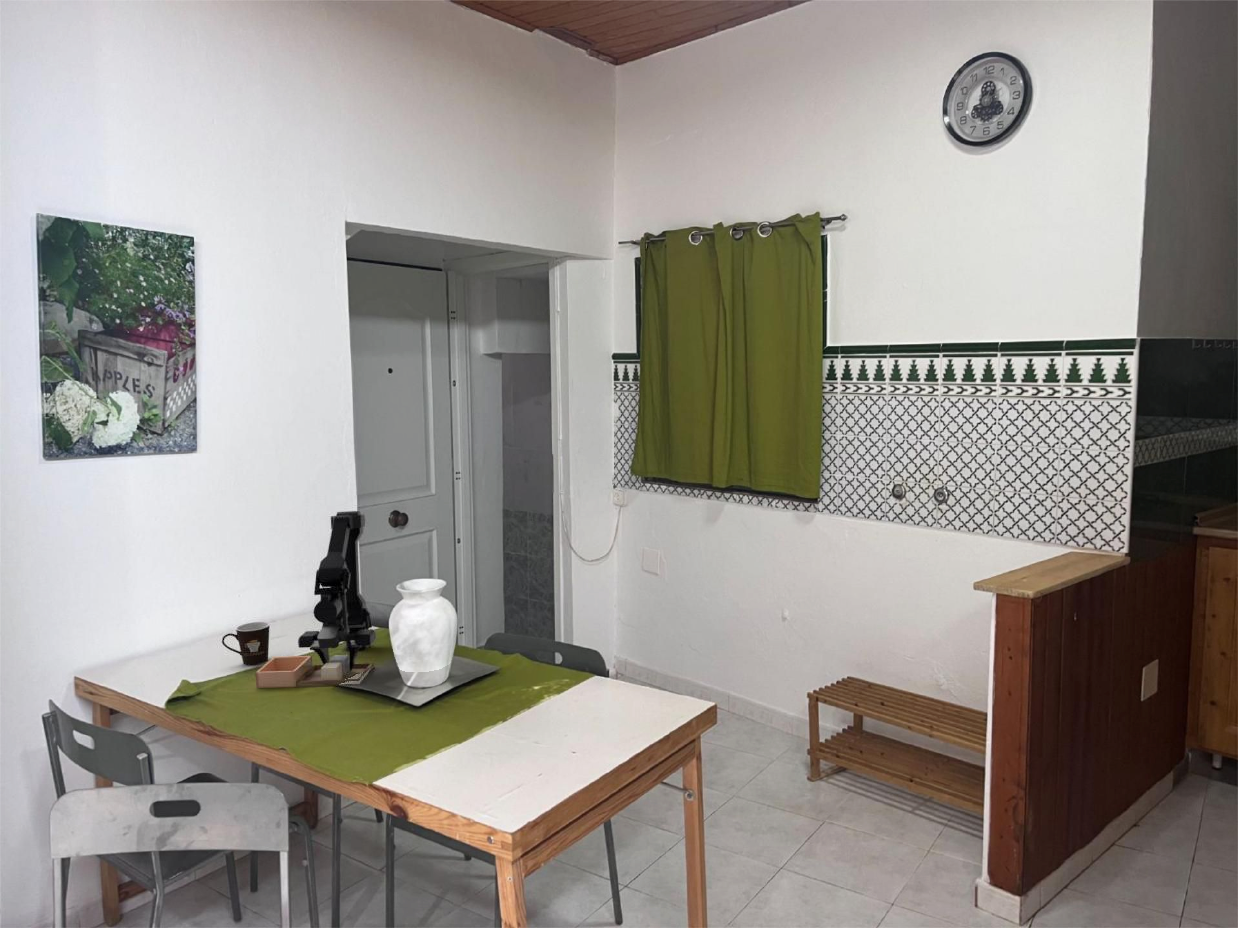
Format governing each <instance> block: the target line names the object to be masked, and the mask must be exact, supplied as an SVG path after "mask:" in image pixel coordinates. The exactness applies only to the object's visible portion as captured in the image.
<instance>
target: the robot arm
mask: <svg viewBox="0 0 1238 928" xmlns="http://www.w3.org/2000/svg"><path fill="white" fill-rule="evenodd" d="M365 526H366V518H365V514H361V511H360V510H348V511H337V512H336V514H335V515H330V529H331V533H330V537H329V543H328V549H327V554H326V556H325V557H323V558H322V560H320V563H319V566H318V569H317V570H316V571H315V572H316V573H315V580H314V581H315V582H314V583H315V584H314V592H313V593H314V596H319V595H320V600H319V601H318V602H317V603H316V604H315V606H314V608H313V617H314V618H315V619H316V620H317V621H318V622H320V623H321V624H322V627H321V629H320V630H311V631H309V630H307V631H304V633H302V634H301V635H299V637H298V641H297V643H298V644H297V645H298V648H299V649H300V648H301V649H302V648H304V649H305V648H307V649H308V648H309V650H310V651H314V652H315V653H317V655H318V657H319V658H320V660H321V662H322V663H321V664H323V665H325V664H326V663H329V659H330V656H329V649H336V648H338V647H339V646H340V644H341V643H342V642H343V643H345V647H344V648H343V649H342V650H341V652H349V653H348V655H349V666H350V670H352V669H353V666H354V663H356V660H357V656H358V652H364V651H366V649H368V648H369V647H370V646H371V645H372V644H373V643H374V642H375V640H376V639H377V637H376V635H377V634H376V633H377V632H376V631H375V630H374V628H373V620H372V617H371V616H372V615H371V613H370V611H369V609H368V607H367V604H366V603H367V602H366V600H365V599H364V597H363V596H362V594H361V590H360V569H359V566H360V565H359V562H360V561H359V541H360V540H361V536H362V535H363V533H364V527H365Z"/></svg>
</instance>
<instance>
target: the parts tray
mask: <svg viewBox="0 0 1238 928" xmlns="http://www.w3.org/2000/svg"><path fill="white" fill-rule="evenodd" d="M323 666H324V665H323V663H318V664H317V663H315V664H312V667H311V668H310V669H308V670H307V671H306V672H305V673H304V674H303V675H302V676H301V677H300V678H299V679H298V680H297V681H296V687H300V688H301V687H326V686H329V687H330V686H331V687H333V686H334V687H335V686H340V685H339V684H341V683H345V682H347V681H348V682H349V681H359V680H360V679H361V678H362V676H364V674H365V673H366V672H367V671H368V670H370V669H372V668H373V667H375V663H374V662H355V663H354V666H353V669H352V670H349V671H348V672H347V673H346V674H345V675H342V677H343V678H342V679H341V680H322V679H321V668H322V667H323ZM349 667H350V666H349ZM373 669H374V668H373ZM373 669H372V670H373ZM362 672H363V673H362ZM360 673H362V674H361V676H360V677H359V678H358V679H348V678H351V677H353V676H355V675H356V674H360ZM345 679H346V680H345Z"/></svg>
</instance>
